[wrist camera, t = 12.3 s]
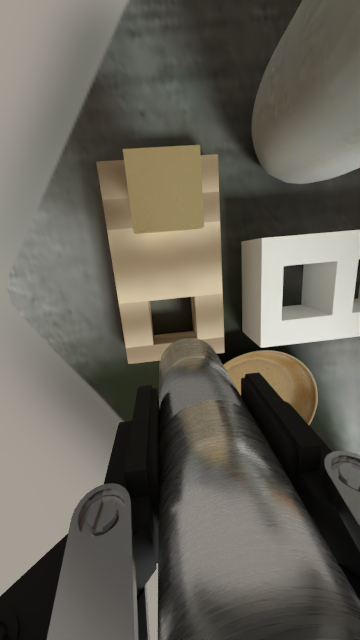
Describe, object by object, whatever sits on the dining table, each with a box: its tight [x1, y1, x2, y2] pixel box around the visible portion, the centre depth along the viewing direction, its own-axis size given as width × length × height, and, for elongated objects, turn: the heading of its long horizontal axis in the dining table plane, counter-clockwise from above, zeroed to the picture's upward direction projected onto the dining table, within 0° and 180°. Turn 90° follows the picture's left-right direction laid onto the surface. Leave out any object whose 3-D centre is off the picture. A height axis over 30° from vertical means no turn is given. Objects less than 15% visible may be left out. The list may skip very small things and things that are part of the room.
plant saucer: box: [223, 350, 318, 425], centre depth 29 cm, size 15×15×3 cm
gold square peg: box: [123, 145, 204, 234], centre depth 18 cm, size 4×4×9 cm
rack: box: [241, 230, 360, 348], centre depth 24 cm, size 10×16×5 cm, turn 95°
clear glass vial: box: [158, 338, 360, 640], centre depth 8 cm, size 4×4×11 cm
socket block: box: [96, 154, 225, 364], centre depth 23 cm, size 18×10×3 cm, turn 5°
